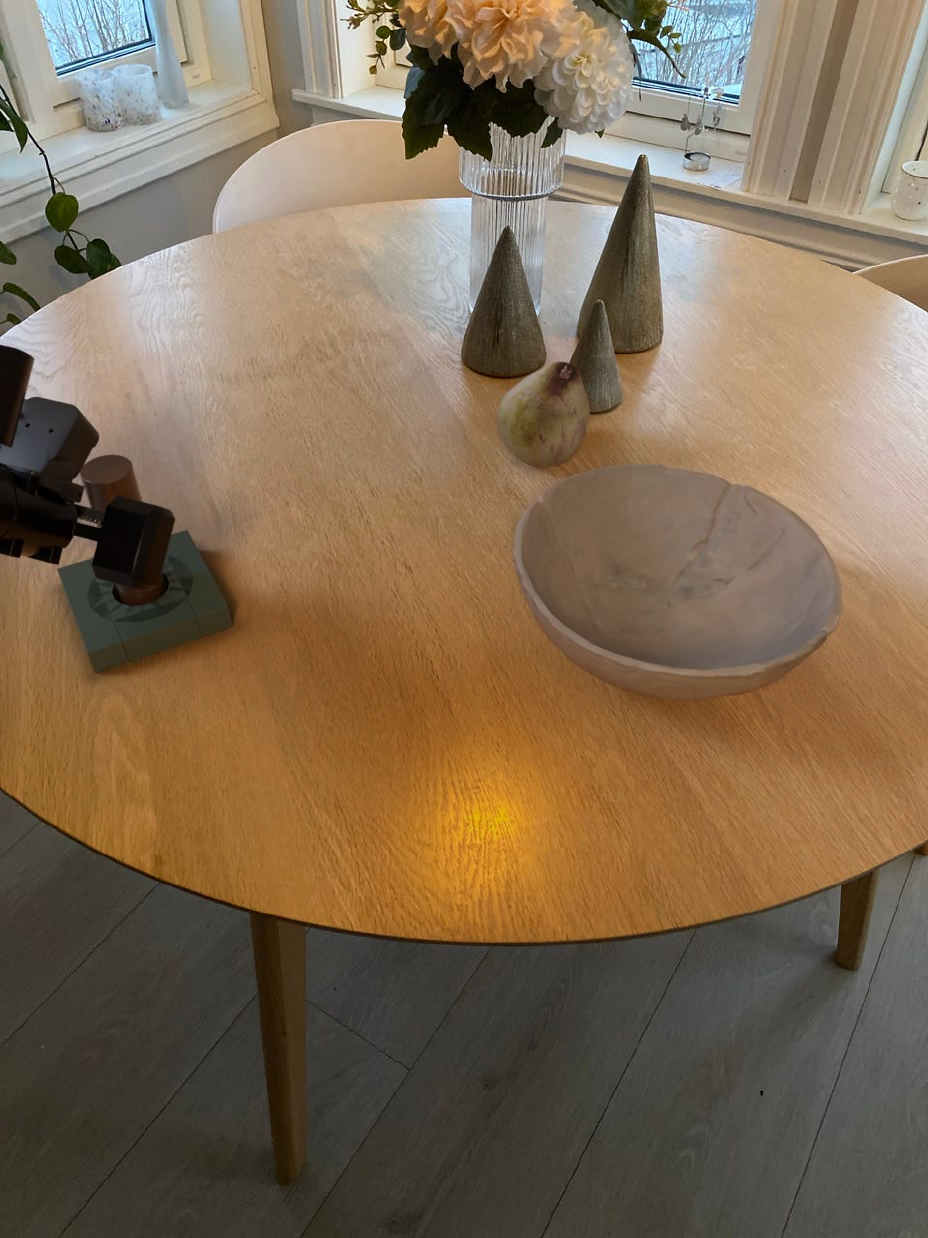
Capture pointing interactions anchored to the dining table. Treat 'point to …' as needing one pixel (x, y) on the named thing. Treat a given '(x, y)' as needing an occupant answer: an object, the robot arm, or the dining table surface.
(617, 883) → the dining table surface
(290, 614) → the dining table surface
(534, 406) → the fruit
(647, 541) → the bowl
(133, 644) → the board
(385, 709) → the dining table surface
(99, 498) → the dowel
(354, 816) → the dining table surface
